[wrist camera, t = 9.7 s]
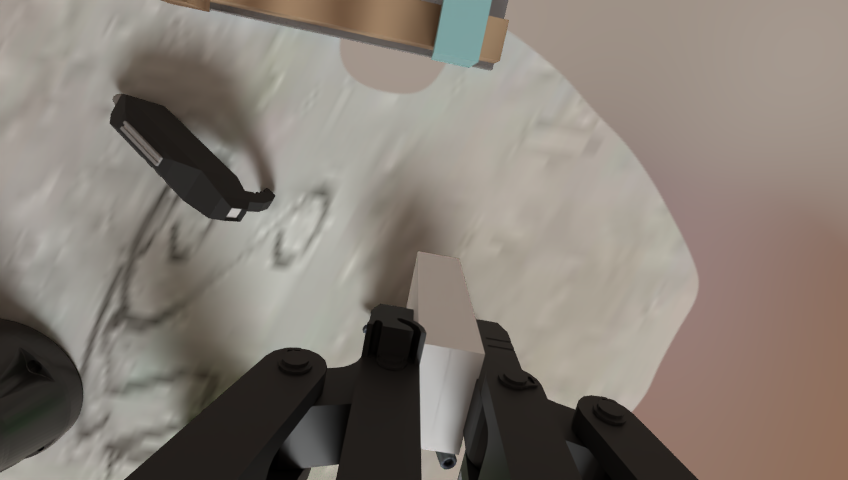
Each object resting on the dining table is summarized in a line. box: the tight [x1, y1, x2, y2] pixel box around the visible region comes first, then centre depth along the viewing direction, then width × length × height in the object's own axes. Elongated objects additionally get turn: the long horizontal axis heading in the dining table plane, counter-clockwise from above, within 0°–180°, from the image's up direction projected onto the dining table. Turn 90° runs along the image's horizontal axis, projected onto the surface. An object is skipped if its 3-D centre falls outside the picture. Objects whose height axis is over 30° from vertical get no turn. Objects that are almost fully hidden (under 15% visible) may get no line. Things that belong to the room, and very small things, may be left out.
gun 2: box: [110, 94, 275, 222], centre depth 41 cm, size 3×16×10 cm, turn 54°
